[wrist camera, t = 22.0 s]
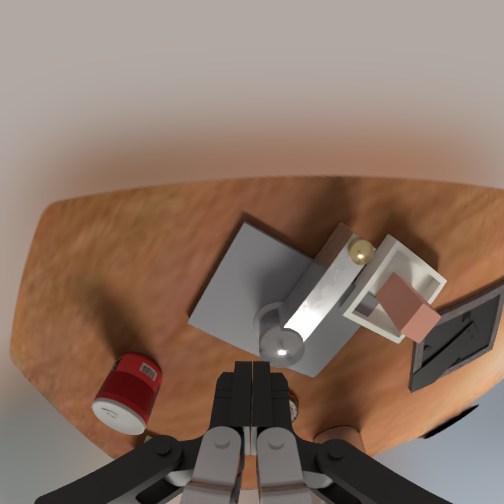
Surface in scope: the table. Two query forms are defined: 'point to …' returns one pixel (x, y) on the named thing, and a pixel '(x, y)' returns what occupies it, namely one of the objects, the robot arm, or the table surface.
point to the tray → (375, 276)
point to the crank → (312, 297)
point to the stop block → (407, 308)
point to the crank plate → (268, 298)
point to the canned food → (128, 394)
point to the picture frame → (457, 337)
